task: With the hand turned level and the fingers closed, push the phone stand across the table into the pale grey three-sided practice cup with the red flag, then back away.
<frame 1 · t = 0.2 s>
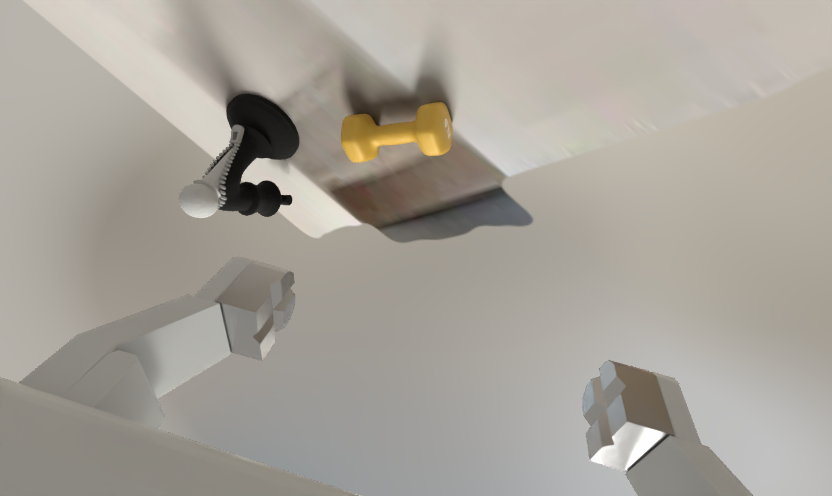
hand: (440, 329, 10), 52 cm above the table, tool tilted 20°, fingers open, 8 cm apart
sculpture: (275, 143, 83), on the table
dumbbell: (403, 119, 69), on the table
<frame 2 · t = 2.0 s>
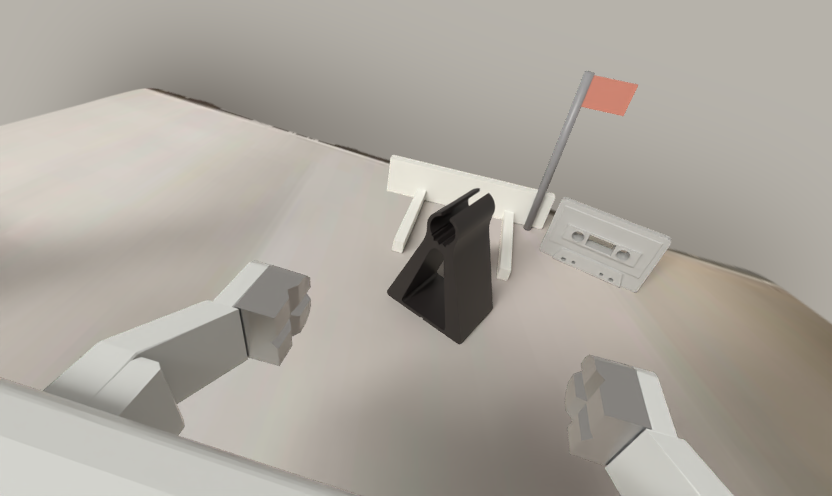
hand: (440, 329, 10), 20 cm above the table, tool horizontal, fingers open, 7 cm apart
practice cup: (456, 233, 49), on the table
phone stand: (438, 303, 39), on the table
cassette: (585, 270, 47), on the table
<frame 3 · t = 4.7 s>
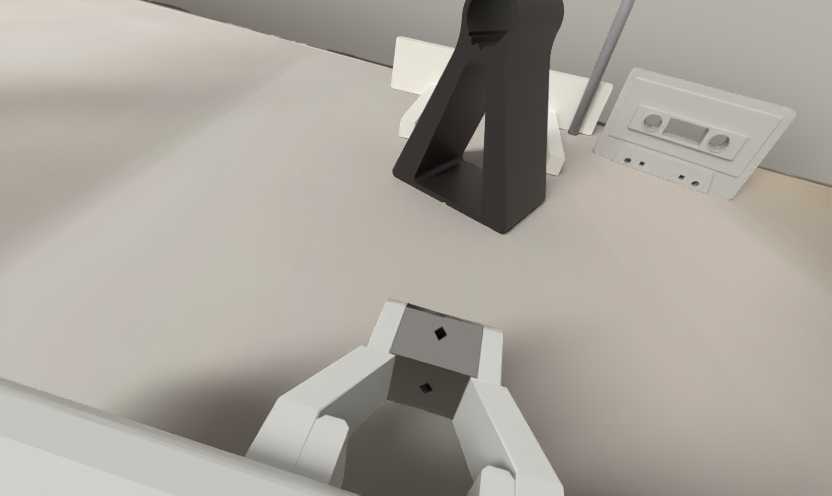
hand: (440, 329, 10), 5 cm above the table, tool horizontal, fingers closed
practice cup: (483, 129, 37), on the table
phone stand: (467, 191, 27), on the table
cassette: (656, 176, 35), on the table
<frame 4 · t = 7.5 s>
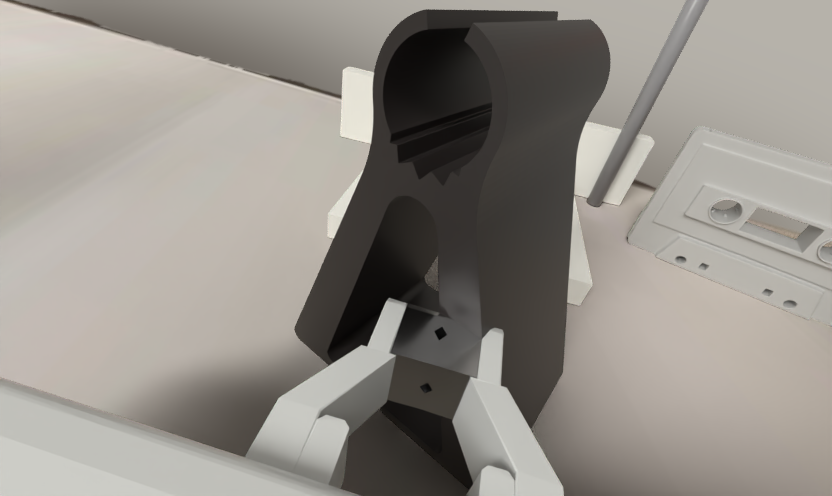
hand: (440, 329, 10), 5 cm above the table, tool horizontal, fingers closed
practice cup: (465, 208, 25), on the table
phone stand: (427, 360, 16), on the table, touching gripper
cassette: (724, 283, 23), on the table
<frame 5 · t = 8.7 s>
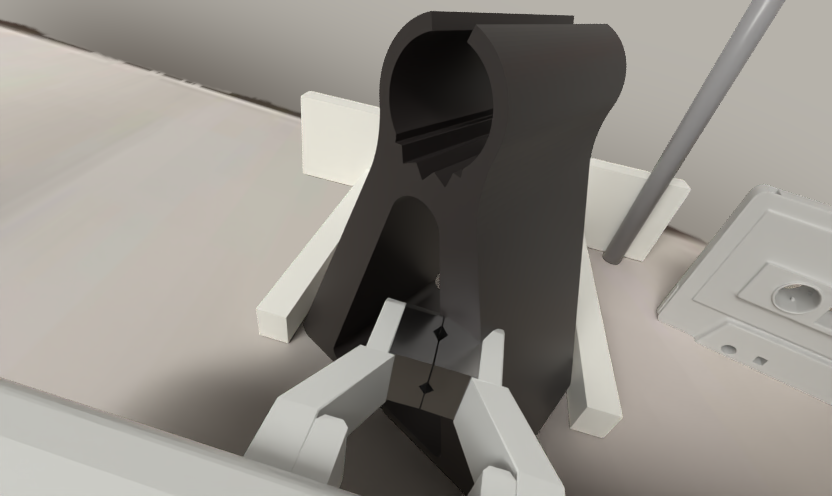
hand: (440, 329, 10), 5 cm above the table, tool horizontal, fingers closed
practice cup: (451, 275, 20), on the table
phone stand: (432, 363, 16), on the table, touching gripper
cassette: (785, 379, 18), on the table
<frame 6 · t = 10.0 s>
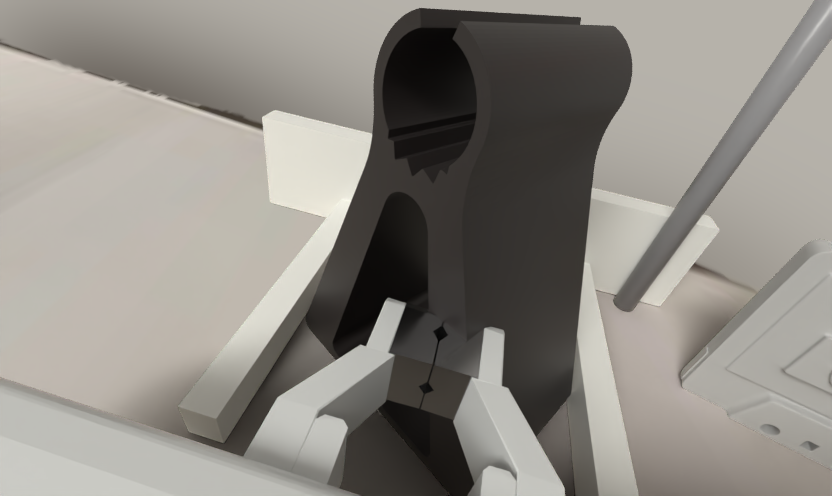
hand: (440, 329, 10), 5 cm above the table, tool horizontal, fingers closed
practice cup: (435, 334, 17), on the table
phone stand: (431, 364, 16), on the table, touching gripper
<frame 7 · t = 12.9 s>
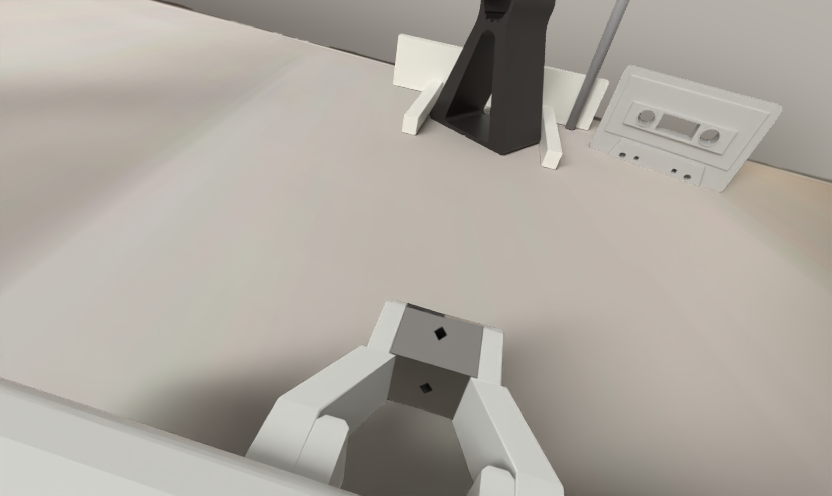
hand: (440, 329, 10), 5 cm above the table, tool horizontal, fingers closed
practice cup: (483, 125, 38), on the table
phone stand: (483, 132, 37), on the table
cassette: (650, 170, 37), on the table
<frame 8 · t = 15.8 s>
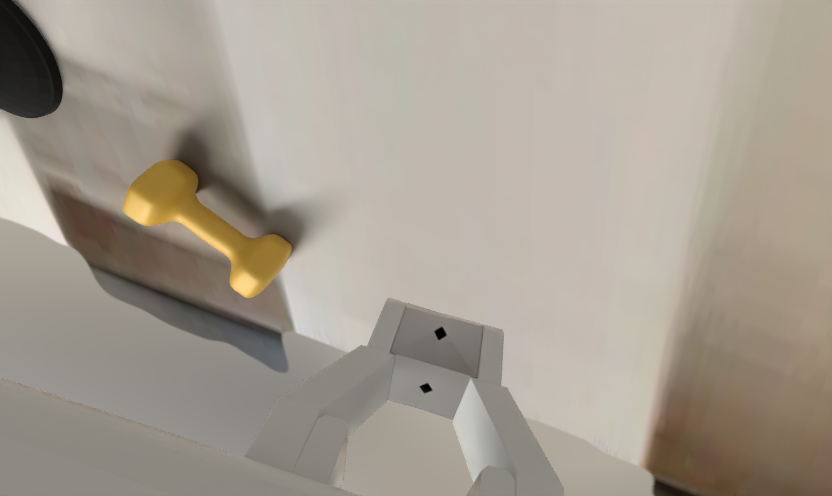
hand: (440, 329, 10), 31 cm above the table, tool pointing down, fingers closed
sculpture: (0, 78, 48), on the table
dumbbell: (234, 212, 52), on the table
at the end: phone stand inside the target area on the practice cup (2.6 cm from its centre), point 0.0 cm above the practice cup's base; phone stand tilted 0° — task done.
